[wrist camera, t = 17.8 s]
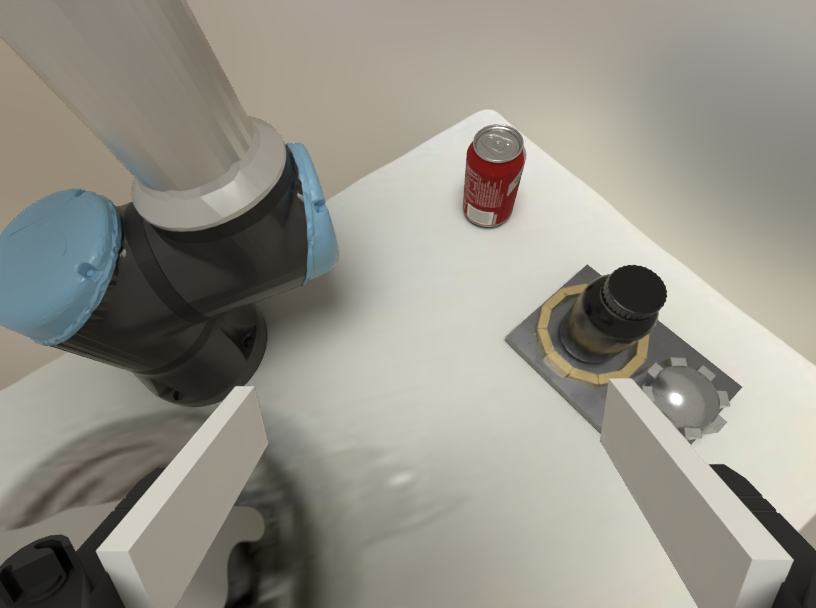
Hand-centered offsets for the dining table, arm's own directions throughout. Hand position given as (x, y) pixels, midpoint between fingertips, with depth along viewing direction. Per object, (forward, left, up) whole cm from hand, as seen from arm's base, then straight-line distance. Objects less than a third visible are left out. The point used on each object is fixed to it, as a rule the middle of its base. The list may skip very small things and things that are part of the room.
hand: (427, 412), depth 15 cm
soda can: (-19, +27, -30) cm, 44 cm away
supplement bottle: (+2, +22, -28) cm, 36 cm away
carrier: (+6, +22, -30) cm, 37 cm away
